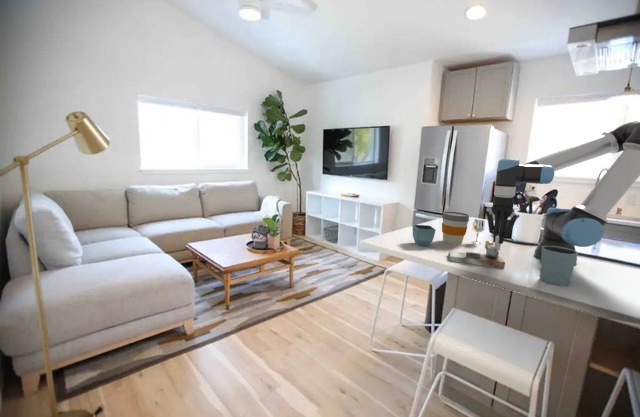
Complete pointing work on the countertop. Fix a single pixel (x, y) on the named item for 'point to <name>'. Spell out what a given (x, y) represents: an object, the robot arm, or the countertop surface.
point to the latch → (491, 250)
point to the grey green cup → (557, 265)
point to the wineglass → (478, 228)
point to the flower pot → (423, 234)
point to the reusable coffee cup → (454, 227)
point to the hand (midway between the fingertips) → (496, 250)
